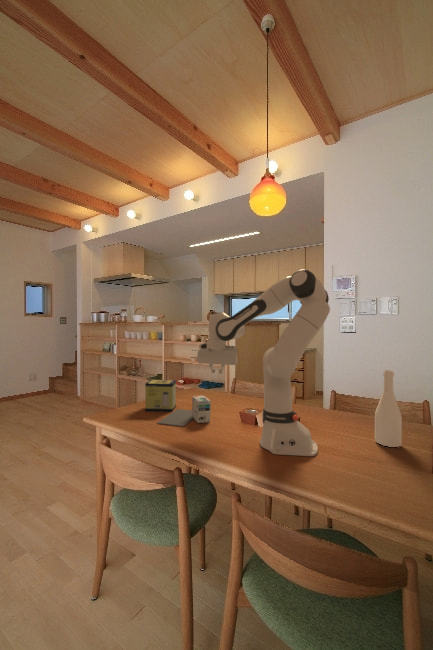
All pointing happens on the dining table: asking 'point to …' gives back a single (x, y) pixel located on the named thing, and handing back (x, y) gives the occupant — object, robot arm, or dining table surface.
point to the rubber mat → (177, 418)
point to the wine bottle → (388, 415)
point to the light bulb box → (201, 409)
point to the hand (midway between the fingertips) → (217, 373)
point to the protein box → (160, 395)
